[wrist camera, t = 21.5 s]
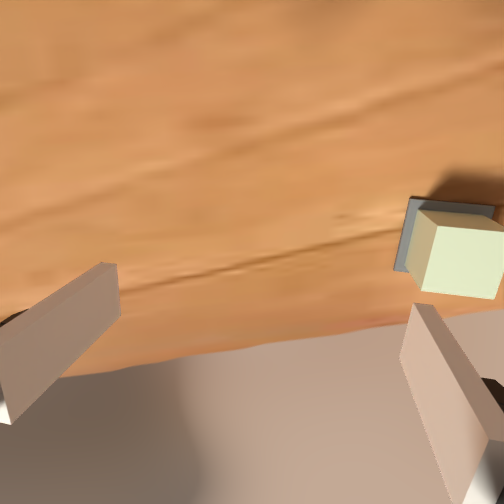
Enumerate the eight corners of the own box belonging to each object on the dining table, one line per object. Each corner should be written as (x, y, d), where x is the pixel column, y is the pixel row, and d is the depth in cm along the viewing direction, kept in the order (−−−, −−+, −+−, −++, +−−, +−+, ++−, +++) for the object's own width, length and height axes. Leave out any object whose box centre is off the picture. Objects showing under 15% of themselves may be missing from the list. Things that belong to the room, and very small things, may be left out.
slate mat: (409, 198, 40) (410, 199, 39) (493, 205, 39) (495, 206, 38) (393, 269, 43) (394, 270, 43) (470, 278, 42) (472, 280, 41)
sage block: (417, 209, 40) (437, 225, 33) (483, 215, 39) (516, 233, 32) (404, 265, 42) (421, 290, 36) (465, 271, 41) (494, 299, 35)
